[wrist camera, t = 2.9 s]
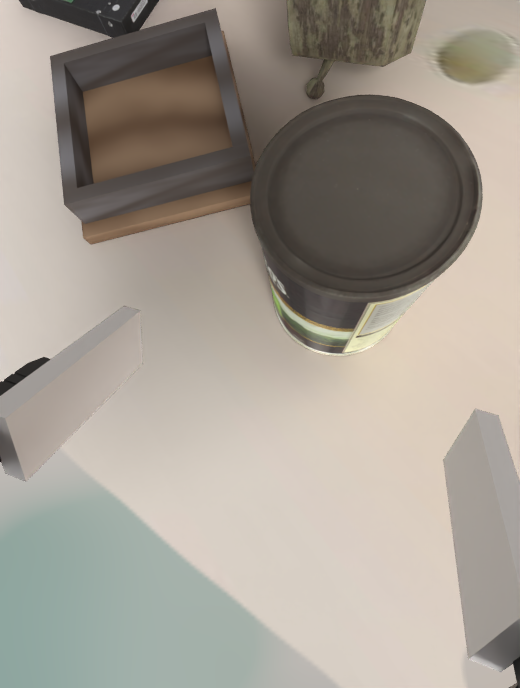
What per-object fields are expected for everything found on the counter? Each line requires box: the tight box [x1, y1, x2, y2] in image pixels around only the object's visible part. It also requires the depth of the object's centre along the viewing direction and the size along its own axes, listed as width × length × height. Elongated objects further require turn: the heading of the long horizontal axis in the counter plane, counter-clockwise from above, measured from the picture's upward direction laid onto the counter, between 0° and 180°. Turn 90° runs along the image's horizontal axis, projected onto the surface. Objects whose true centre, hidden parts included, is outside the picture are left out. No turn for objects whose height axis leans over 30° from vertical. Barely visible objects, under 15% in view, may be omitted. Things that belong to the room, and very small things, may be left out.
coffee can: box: [250, 95, 482, 356], centre depth 24 cm, size 10×10×14 cm
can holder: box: [50, 8, 256, 244], centre depth 34 cm, size 18×16×4 cm
